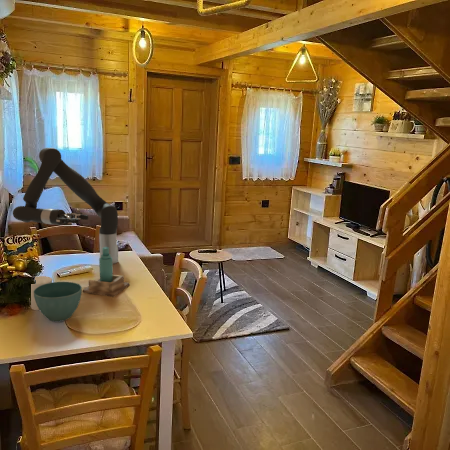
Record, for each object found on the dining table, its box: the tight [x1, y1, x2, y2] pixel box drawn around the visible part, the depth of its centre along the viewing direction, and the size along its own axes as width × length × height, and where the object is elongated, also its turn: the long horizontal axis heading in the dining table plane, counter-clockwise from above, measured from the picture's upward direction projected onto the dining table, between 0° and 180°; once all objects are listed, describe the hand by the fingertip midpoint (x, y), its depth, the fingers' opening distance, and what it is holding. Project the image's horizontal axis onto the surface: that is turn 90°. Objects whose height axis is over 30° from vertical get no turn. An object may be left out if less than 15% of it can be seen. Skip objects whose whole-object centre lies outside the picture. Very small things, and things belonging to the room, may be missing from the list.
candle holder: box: [29, 275, 53, 311], centre depth 195 cm, size 10×10×12 cm
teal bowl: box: [34, 281, 83, 323], centre depth 185 cm, size 18×18×12 cm
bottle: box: [98, 247, 114, 283], centre depth 217 cm, size 6×6×19 cm
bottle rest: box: [82, 274, 130, 298], centre depth 219 cm, size 16×16×5 cm
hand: (83, 219), depth 219 cm, fingers open, 8 cm apart
